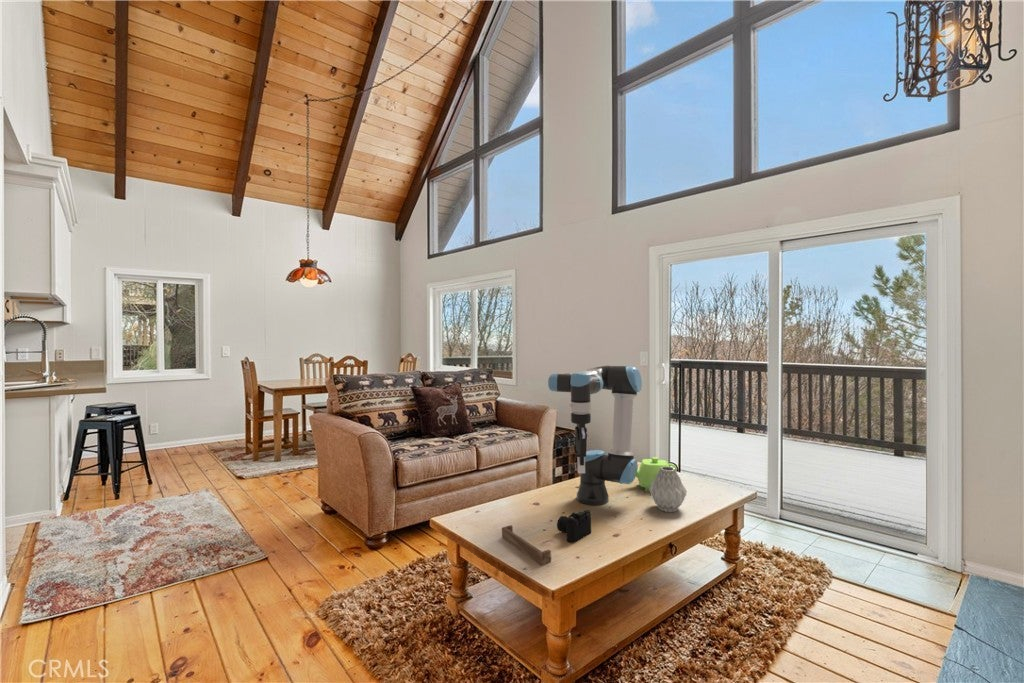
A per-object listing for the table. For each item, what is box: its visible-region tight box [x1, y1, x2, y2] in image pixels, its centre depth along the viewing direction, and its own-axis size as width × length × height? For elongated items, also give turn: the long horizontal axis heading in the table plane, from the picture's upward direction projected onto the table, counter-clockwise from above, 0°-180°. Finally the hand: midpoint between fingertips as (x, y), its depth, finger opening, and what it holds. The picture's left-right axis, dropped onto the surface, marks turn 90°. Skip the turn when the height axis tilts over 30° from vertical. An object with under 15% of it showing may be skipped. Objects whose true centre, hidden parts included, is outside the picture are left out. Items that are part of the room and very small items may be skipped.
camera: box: [556, 509, 592, 544], centre depth 187 cm, size 14×11×10 cm
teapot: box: [635, 456, 678, 492], centre depth 243 cm, size 25×22×16 cm
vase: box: [649, 466, 688, 513], centre depth 212 cm, size 16×16×18 cm
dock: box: [501, 524, 552, 566], centre depth 175 cm, size 4×26×4 cm, turn 33°
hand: (581, 472), depth 183 cm, fingers closed
